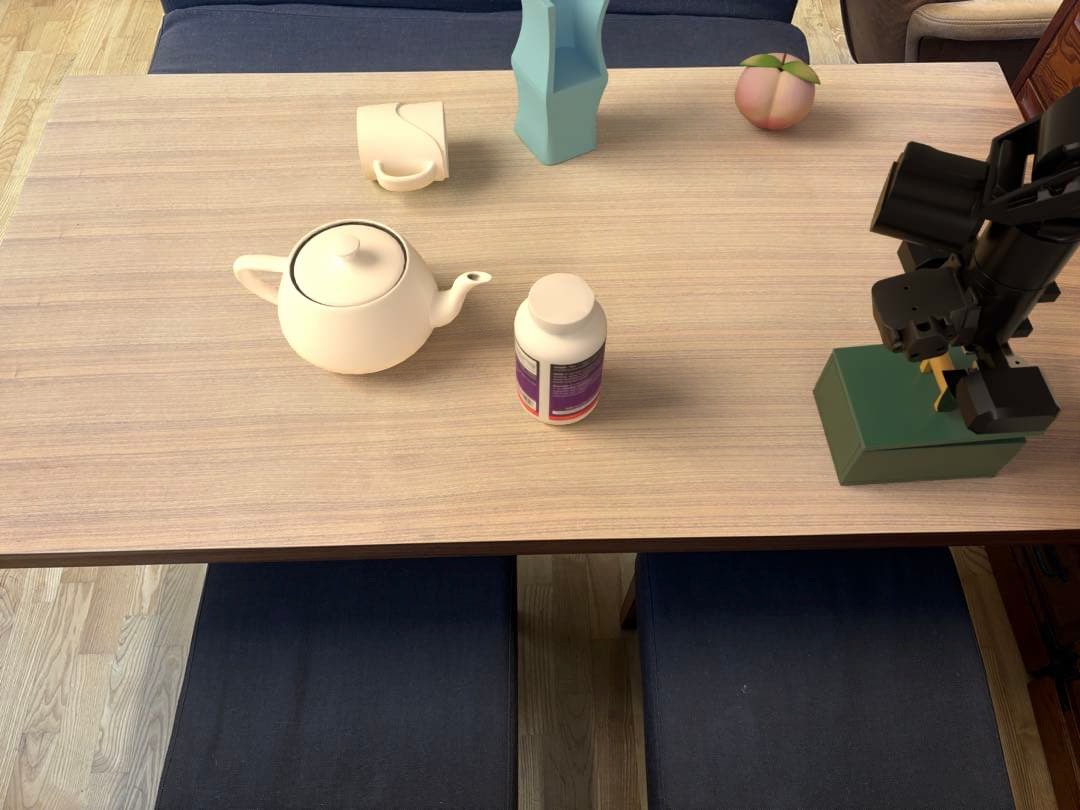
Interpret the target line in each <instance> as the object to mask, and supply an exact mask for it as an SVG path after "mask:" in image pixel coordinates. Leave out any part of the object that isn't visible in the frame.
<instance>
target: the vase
mask: <svg viewBox="0 0 1080 810" xmlns="http://www.w3.org/2000/svg"><path fill="white" fill-rule="evenodd" d="M610 1H611V0H521V6H522V7H521V8H522V10H521V11H522V20H521V27H520V28H521V29H520V32H519V36H518V39H517V42H516V45H515V47H514V49H513V52H512V55H511V56H510V60H511V64H510V65H511V67H512V71H513V75H514V79H515V83H516V88H517V95H518V106H517V107H518V108H517V112H516V118H515V122H514V125H513V128H512V130H513V132H515V134H516V135H517V137H519V139H520V140H521V142H523V144H524V145H525V146H526V147H527V149H528V150H529V151H530V153H532V155H533V156H534V157H535V158H536V159H537V161H538V162H540V163H541V164H542V165H547V166H554V165H557V164H560V163H563V162H566V161H568V160H571V159H573V158H576V157H578V156H582V155H583V154H586V153H590V152H592V151H593V150H596V149H597V147H598V137H597V128H596V127H597V117H598V116H597V114H598V110H599V106H600V103H601V101H602V97H603V95H604V92H605V91H606V88H607V86H608V83H609V72H608V68H607V64H606V61H605V57H604V53H603V46H602V45H603V44H602V28H603V24H604V23H603V22H604V18H605V16H606V11H607V9H608V7H609V3H610Z"/></svg>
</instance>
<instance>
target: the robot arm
mask: <svg viewBox="0 0 1080 810" xmlns="http://www.w3.org/2000/svg"><path fill="white" fill-rule="evenodd" d="M988 153H989V154H988V156H987V157H986V159H985V160H980V159H976V158H972V157H968V156H964V155H959V154H955V153H951V152H947V151H944V150H941V149H937V148H936V147H934V146H931V145H929V144H926V143H922V142H917V141H913V140H910V141H908V142H907V143H906V146H905V148H904V150H903V151H902V152H900V154H899V155H898V158H897V160H896V161H893V162H892V164H891V166H890V168H889V171H888V173H887V176H886V179H885V180H884V184H883V186H882V189H881V191H880V194H879V197H878V200H877V203H876V206H875V209H874V212H873V215H872V218H871V222H870V225H869V232H870V233H873V234H878V235H882V236H885V237H889V238H893V239H896V240H899V241H901V242H900V245H899V246H898V249H897V251H896V254H897V257H898V259H899V262H900V265H901V267H902V269H903V272H904V273H901V274H897V275H894V276H889V277H886V278H882V279H879V280H878V281H875V282H874V283H873V284H872V286H871V289H870V290H871V291H870V292H871V305H872V316H873V319H874V322H875V325H876V326H877V329H878V332H879V335H880V338H881V341H882V344H883V345H884V346H885V348H886V349H888V350H890V351H892V352H893V353H903V354H905V356H906V359H907V361H909V362H913V363H915V362H923V360H927V359H932V358H936V357H940V356H942V355H944V354H945V353H947V351H948V350H949V343H950V345H951V347H960V346H961V347H962V350H963V352H964V353H965V354H966V355H974V354H976V357H977V359H978V360H975V361H974V363H973V364H972V365H971V366H972V368H970V367H969V368H967V369H957V370H942V374H943V377H944V379H945V382H946V384H947V388H946V390H945V392H944V393H943V395H942V397H941V399H940V401H939V403H938V406H937V411H938V412H950V411H953V410H956V409H959V410H960V412H961V415H962V417H963V420H964V422H965V425H966V427H967V429H968V430H970V431H972V432H973V433H975V434H977V435H982V434H997V433H1013V432H1029V431H1045V430H1046V431H1047V429H1048V428H1049V427H1050V426H1051V425H1052V424H1053V423H1054V422H1055V420H1056V419H1057V418H1058V417H1059V415H1060V414H1061V413H1062V411H1063V409H1062V407H1061V405H1060V403H1059V400H1058V398H1057V397H1056V394H1055V392H1054V390H1053V388H1052V386H1051V384H1050V382H1049V380H1048V377H1047V375H1046V373H1045V372H1044V371H1043V369H1041V368H1040V367H1039V365H1033V366H1032V365H1031V366H1029V364H1028V361H1026V359H1025V358H1024V357H1022V356H1020V355H1017V354H1015V353H1014V351H1013V350H1012V349H1013V348H1012V347H1011V345H1010V343H1009V340H1011V339H1020V338H1021V339H1022V338H1028V337H1029V336H1030V335H1031V333H1032V332H1033V331H1034V327H1033V325H1032V322H1031V321H1030V319H1029V315H1030V314H1031V313H1032V311H1033V310H1034V309H1035V307H1036V306H1037V305H1038V304H1046V303H1055V302H1056V301H1057V300H1058V298H1059V297H1060V296H1061V294H1062V291H1061V289H1060V288H1059V285H1058V284H1057V282H1056V279H1057V277H1059V275H1060V274H1061V272H1062V271H1063V269H1064V268H1065V267H1066V265H1067V264H1068V263H1069V261H1070V260H1071V259H1072V258H1073V256H1074V255H1075V253H1076V252H1077V251H1078V249H1079V248H1080V85H1079V86H1075V87H1072V88H1070V90H1069V91H1068V92H1067V93H1065V94H1063V95H1062V96H1061V97H1059V98H1058V99H1056V100H1055V101H1053V102H1052V103H1051V104H1050V105H1049V107H1048V108H1046V110H1045V111H1043V112H1041V113H1039V114H1037V115H1035V116H1033V117H1032V118H1029V119H1028V120H1025V121H1024V122H1021V123H1020V124H1018V125H1016V126H1014V127H1011V128H1010V129H1008V130H1006V131H1004V132H1002V133H1000V134H998V135H996V136H994V137H993V138H992V139H991V143H990V149H989V152H988ZM1032 155H1033V159H1032V160H1033V161H1032V168H1031V174H1030V182H1026V183H1025V178H1026V172H1027V166H1028V158H1029V156H1032ZM985 221H988V223H987V224H986V226H985V228H984V229H983V231H982V233H981V235H979V233H980V231H981V229H982V228H983V226H984V224H985Z"/></svg>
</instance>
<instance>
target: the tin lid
mask: <svg viewBox="0 0 1080 810" xmlns="http://www.w3.org/2000/svg"><path fill="white" fill-rule="evenodd" d="M831 353H832V354H833V357H834V360H835V364H836V367H837V370H838V373H839V376H840V379H841V383H842V386H843V389H844V392H845V395H846V398H847V402H848V405H849V408H850V411H851V414H852V417H853V421H854V424H855V427H856V430H857V433H858V436H859V440H860V443H861V446H862V449H863V451H871V450H882V449H894V448H905V447H916V446H928V445H939V444H950V443H962V442H973V441H984V440H996V439H1007V438H1018V437H1025V438H1029V437H1037V436H1038V437H1040V436H1041V437H1042V436H1044V435H1045V434H1046V433H1047V429H1046V430H1045V431H1029V432H1013V433H997V434H982V435H977V434H975V433H973V432H972V431H970V430H968V429H967V427H966V425H965V422H964V420H963V417H962V415H961V412H960V410H959V409H956V410H953V411H950V412H938V411H937V406H938V403H939V401H940V399H941V397H942V395H943V393H944V392H945V390H946V388H947V384H946V382H945V379H944V377H943V374H942V370H957V369H967V368H969V367H970V368H972V366H971V365H972V364H973V363H974V361H975V360H978V359H977V357H976V354H974V355H966V354H965V353H964V352H963V350H962V347H961V346H960V347H951V345H950V343H949V350H948V351H947V353H945V354H944V355H942V356H940V357H936V358H932V359H927V360H923V362H915V363H913V362H909V361H907V359H906V356H905V354H903V353H893V352H892V351H890V350H888V349H886V348H885V346H884V345H883V343H879V344H868V345H856V346H847V347H846V346H845V347H834V348H833V349H832V351H831Z"/></svg>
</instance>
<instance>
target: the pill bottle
mask: <svg viewBox="0 0 1080 810" xmlns="http://www.w3.org/2000/svg"><path fill="white" fill-rule="evenodd" d="M595 297H596V296H595V293H594V291H593V288H592V287H591V286H590V284H589V283H588V282H587V281H585V280H584V279H583V278H581V277H579V276H577V275H575V274H571V273H567V272H566V273H565V272H559V273H558V272H557V273H552V274H551V273H550V274H547V275H545V276H543V277H541V278H539V279H538V280H537V281H536V282H534V283H533V285H532V286H531V288H530V290H529V291H528V297H527V298H525V299H524V300H523V302H522V303H521V304H520V306H519V307H518V308H517V312H516V313H515V318H514V324H513V326H514V327H513V329H514V330H513V332H514V352H515V354H514V355H515V379H516V380H515V381H516V395H517V398H518V401H519V403H520V405H521V406H522V408H523V410H524V411H525V412H526V413H527V414H528V415H530V417H532V418H534V419H535V420H537V421H539V422H541V423H545V424H548V425H553V426H554V425H555V426H564V425H570V424H574V423H576V422H579V421H581V420H582V419H585V418H586V417H587V416H588V415H590V413H591V412H593V410H594V409H595V408H596V406H597V404H598V402H599V399H600V396H601V391H602V390H601V389H602V382H603V381H602V380H603V372H604V362H605V353H606V344H607V335H608V320H607V315H606V314H605V311H604V309H603V307H602V305H601V304H600V302H599V301H598V300H597V299H596V298H595Z"/></svg>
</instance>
